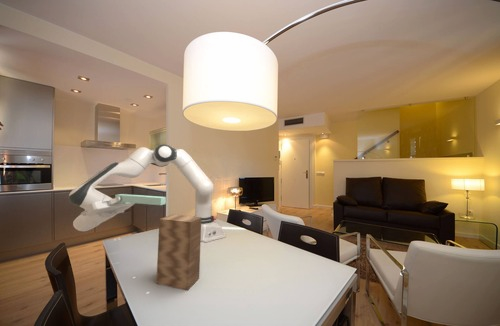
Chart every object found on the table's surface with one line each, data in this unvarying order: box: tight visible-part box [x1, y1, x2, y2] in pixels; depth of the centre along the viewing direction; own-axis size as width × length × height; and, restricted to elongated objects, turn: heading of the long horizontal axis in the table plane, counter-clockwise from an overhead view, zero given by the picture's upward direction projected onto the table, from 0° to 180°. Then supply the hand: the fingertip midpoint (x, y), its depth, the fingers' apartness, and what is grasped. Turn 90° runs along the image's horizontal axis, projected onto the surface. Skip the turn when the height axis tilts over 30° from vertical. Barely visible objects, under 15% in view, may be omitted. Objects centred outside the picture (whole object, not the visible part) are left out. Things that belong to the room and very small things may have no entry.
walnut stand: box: [155, 214, 202, 291], centre depth 75 cm, size 14×8×25 cm, turn 75°
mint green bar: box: [114, 193, 167, 206], centre depth 81 cm, size 24×3×3 cm, turn 75°
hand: (125, 197), depth 83 cm, fingers closed on mint green bar, 3 cm apart
